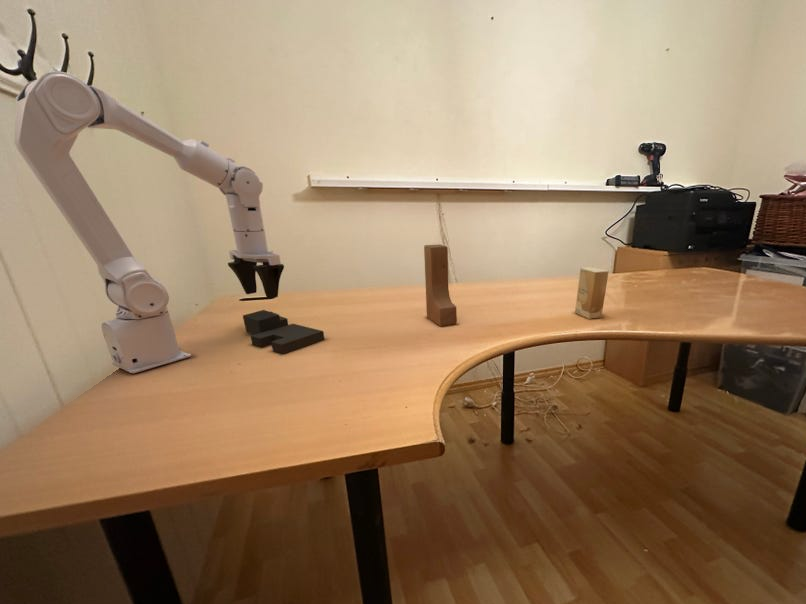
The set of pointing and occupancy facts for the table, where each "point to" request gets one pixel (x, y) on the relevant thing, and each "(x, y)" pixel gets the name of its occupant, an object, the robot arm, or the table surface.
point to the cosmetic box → (591, 292)
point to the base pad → (288, 338)
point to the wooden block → (438, 286)
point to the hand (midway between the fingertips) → (261, 295)
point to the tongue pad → (263, 322)
